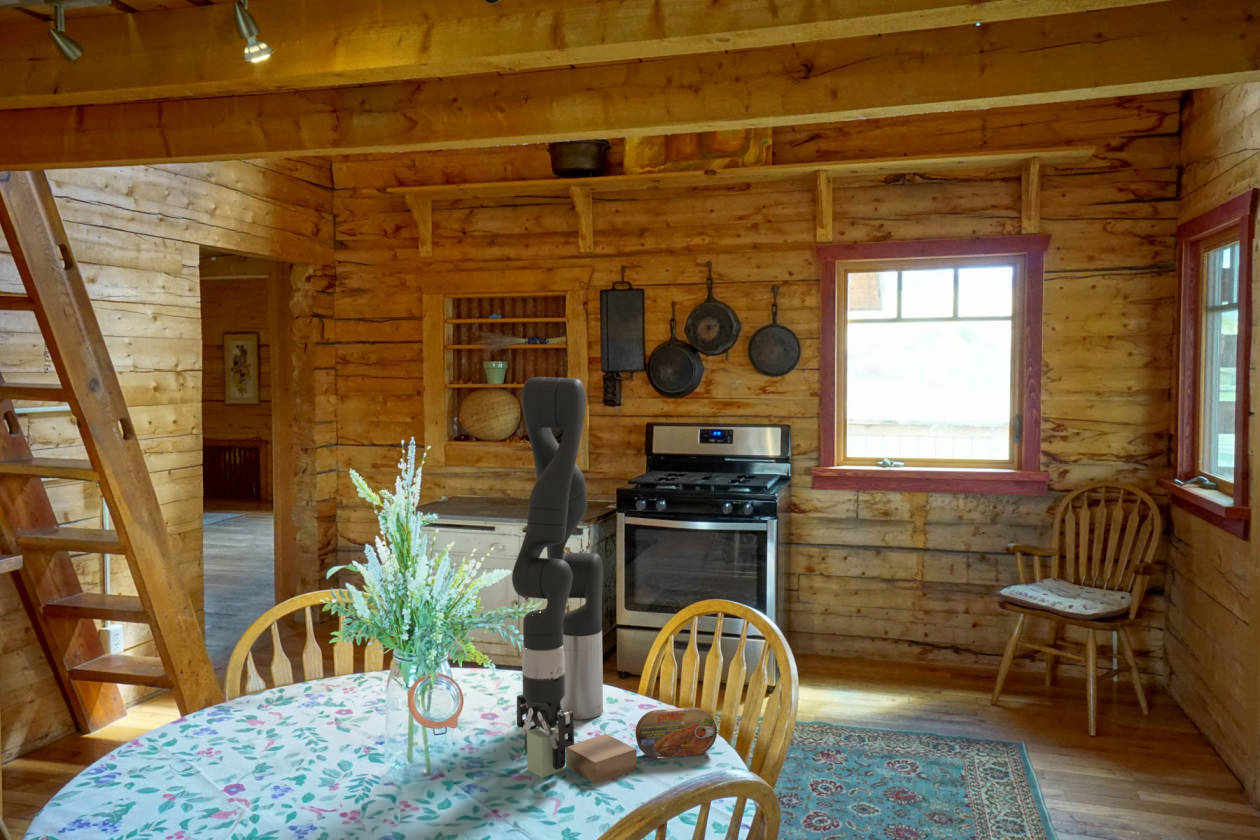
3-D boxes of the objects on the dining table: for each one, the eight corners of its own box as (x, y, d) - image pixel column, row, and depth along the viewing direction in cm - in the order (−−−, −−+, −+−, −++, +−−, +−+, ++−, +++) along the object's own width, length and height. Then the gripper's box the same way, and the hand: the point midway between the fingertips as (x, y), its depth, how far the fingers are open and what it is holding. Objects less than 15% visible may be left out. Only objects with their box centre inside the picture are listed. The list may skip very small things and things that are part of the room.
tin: (637, 760, 173) (636, 715, 172) (634, 753, 176) (633, 708, 175) (717, 754, 175) (717, 709, 174) (713, 747, 178) (713, 703, 177)
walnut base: (566, 768, 170) (565, 746, 170) (606, 755, 176) (606, 733, 176) (595, 785, 163) (595, 762, 163) (636, 771, 169) (636, 749, 168)
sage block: (527, 769, 169) (526, 731, 169) (547, 762, 172) (547, 724, 172) (542, 777, 166) (541, 738, 165) (562, 770, 168) (562, 731, 168)
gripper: (503, 665, 171) (504, 754, 171) (550, 684, 160) (551, 779, 161) (537, 657, 175) (538, 743, 176) (585, 675, 165) (586, 767, 166)
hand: (545, 760), depth 168 cm, fingers open, 8 cm apart
